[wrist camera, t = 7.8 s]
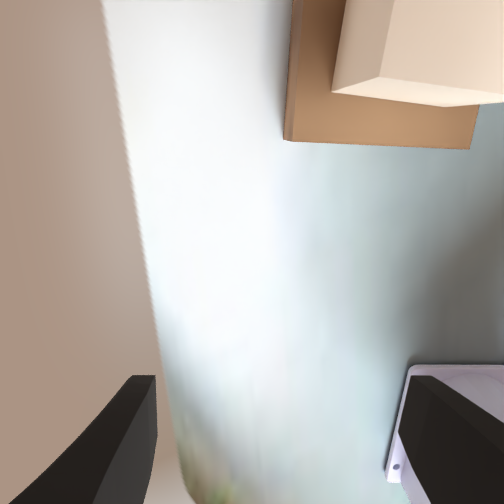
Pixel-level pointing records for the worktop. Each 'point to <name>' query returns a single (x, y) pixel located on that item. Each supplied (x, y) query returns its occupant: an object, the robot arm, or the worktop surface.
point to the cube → (422, 51)
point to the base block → (352, 106)
